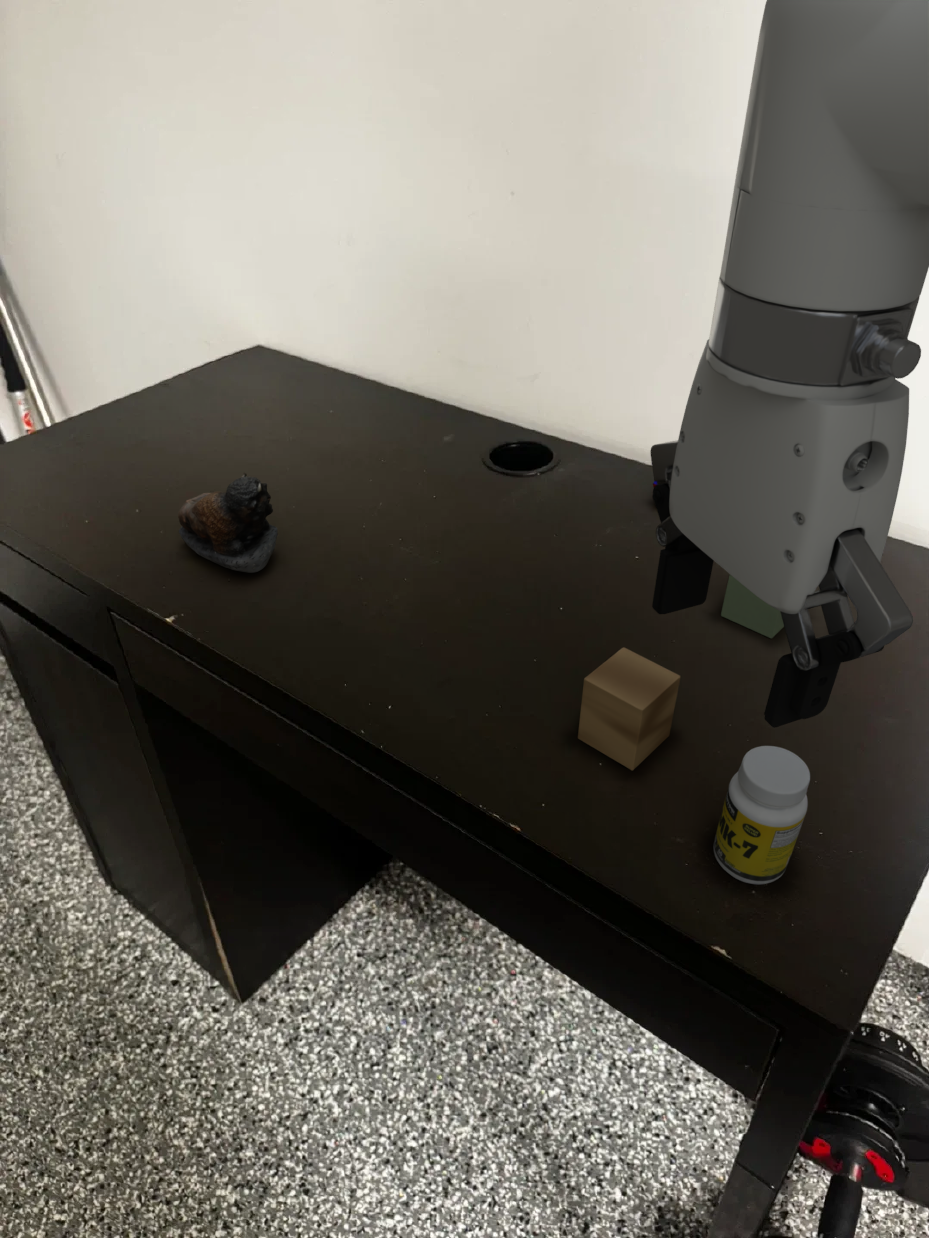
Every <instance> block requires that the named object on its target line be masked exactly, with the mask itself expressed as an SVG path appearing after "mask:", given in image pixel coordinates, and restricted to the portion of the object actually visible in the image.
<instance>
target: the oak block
mask: <svg viewBox="0 0 929 1238" xmlns="http://www.w3.org/2000/svg"><path fill="white" fill-rule="evenodd" d="M680 681H681V675H680V674H678V673H676V672H674V671H671V670H670V669H667V668H665V667H664V666H661V665H660V664H658V663H656V662H654V661H652V660H650V659H649V658H646V657H644V656H643V655H640V654H639V653H636V652H634V651H632V650H630V649H629V648H626V647H625V646H624V647H621V648H620V649H619V650H618V651H616V652H615V653H614V654H613V655H612V656H611V657H609V658H608V659H607V660H606V661H604V662H602V664H600V665H599V666H598V667H597V668H596V669H594V670H593V671H592V672H590V673H589V674H587V676H585V677H584V679H583V687H582V694H581V705H580V712H579V713H580V714H579V722H578V723H579V724H578V731H577V732H578V733H577V739H578V740H580V741H582V743H585V744H586V745H588V746H590V747H591V748H593V749H595V750H596V751H598V752H600V753H601V754H603V755H605V756H607V757H608V758H610V759H611V760H613V761H615V762H616V763H618V764H620V765H622V766H623V767H625V768H626V769H628V770H630V771H634V770H635V769H636V768H637V767H639V765H640V764H641V763H643V761H645V759H647V758H648V757H649V756H650V755H651V754H652V753H653V752H654V751H655V750H656V749H657V748H659V746H660V745H661V744H663V742H664V741H666V739H667V738H668V737H670V734H671V729H672V724H673V718H674V713H675V712H674V711H675V707H676V702H677V697H678V692H679V686H680Z"/></svg>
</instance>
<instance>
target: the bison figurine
mask: <svg viewBox="0 0 929 1238" xmlns="http://www.w3.org/2000/svg"><path fill="white" fill-rule="evenodd" d="M242 474H243V475H242V476H241V477H238V478H236V479H234V480H233V481H232V482H230V484H229V485H227V487H226V491H225V492H224V491H219V490H217V491H214V492H202V493H201V494H199V495H197V496H194V497H192V498H189V499H186V500H185V501H184V503H183V505H182V506H181V508H180V509H179V511H178V514H177V517H178V522H179V524H180V525H181V527H180V528H179V530H178V533H179V535H180V537H181V539H182V540H183V541H184V542H185V544H186V545H187V546H188V547H189V548H190V549H191V550H192V551H194V552H195V553H196V554H197V555H198V556H201V557H202V558H204V559H206V560H208V561H210V562H211V563H212V562H213V563H215V564H216V565H218V566H221V567H223V568H226V569H230V570H232V571H236V572H241V573H248V574H254V573H258V572H259V571H262V570H263V569H264V568H265V567H266V566H267V564H268V563H269V560H270V558H271V556H272V554H273V553H274V551H275V548H276V545H277V539H278V527H277V526H275V525H272V524H270V523H269V521H268V519H267V517H269V516H270V515H272V514H273V512H274V509H273V504H272V503H270V502H271V498H272V496H271V494H270V493H269V491H268V483H266V482H262V481H261V480H260V479H259V478H257V477H256V476H248V475H247V473H246V472H243V473H242Z"/></svg>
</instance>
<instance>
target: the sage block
mask: <svg viewBox="0 0 929 1238" xmlns="http://www.w3.org/2000/svg"><path fill="white" fill-rule="evenodd" d="M720 617H722V618H724V619H727V620H729V621H731V622H734V623H735V624H738V625H741V626H743V627H745V628H747V629H749V630H751V631H753V632H755V633H758V634H760V635H762V636H764V637H766V638H769V639H773V638H774V637H775V636H777V634H778V633H779V632H781V630H782V629H783V628H785V627H784V624H783V620H782V616H781V612H780V611H779V610H777V609H775V608H773V607H771V606H770V605H768V604H767V603H765V602H764V601H763V600H761V599H760V598H759V597H757V596H756V595H755V594H753V593H752V592H751V591H750V590H749V589H747V588H746V587H745V586H744V585H742V584H741V583H740V582H739V581H737V580H736V579H735V578H734V577H733V576H732V575H730V574H729V575H728V580H727V585H726V589H725V594H724V598H723V603H722V608H721V612H720Z"/></svg>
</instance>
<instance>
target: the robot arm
mask: <svg viewBox="0 0 929 1238" xmlns="http://www.w3.org/2000/svg"><path fill="white" fill-rule="evenodd" d="M750 82H751V83H750V88H749V94H748V100H747V107H746V111H745V119H744V125H743V130H742V137H741V143H740V149H739V155H738V161H737V167H736V174H735V180H734V186H733V193H732V198H731V204H730V210H729V218H728V225H727V231H726V238H725V243H724V249H723V255H722V261H721V267H720V274H719V278H718V282H717V288H716V295H715V301H714V307H713V311H712V318H711V323H710V324H711V326H710V330H709V331H710V332H709V337H708V339H707V340H706V342H705V346H704V348H703V351H702V353H701V356H700V359H699V360H698V361H699V362H698V365H697V367H696V371H695V374H694V377H693V380H692V384H691V387H690V391H689V394H688V398H687V402H686V405H685V409H684V413H683V417H682V421H681V426H680V430H679V434H678V438H677V440H672V441H665V442H661V443H656V444H653V445H651V448H650V461H651V466H652V467H651V468H652V474H653V475H652V476H653V482H657V485H656V486H655V487H653V489H652V500H653V503H654V505H655V508H656V511H657V515H658V518H659V521H660V523H659V524H658V525H657V526H656V528H655V538H656V541H657V543H658V544H659V546H661V547H663V549H660V552H659V559H658V565H657V572H656V578H655V583H654V584H655V585H654V591H653V597H652V604H651V607H652V609H653V610H654V611H655V612H656V613H657V614H658V615H668V614H672V613H675V612H678V611H682V610H686V609H690V608H692V607H693V608H694V607H697V606H700V605H703V604H705V602H706V601H707V596H708V591H709V587H710V580H711V576H712V572H713V566H714V563H716V564H717V565H718V566H720V567H721V568H722V569H723V570H724V571H725V572H727V573H728V574H729V575H732V576H733V577H734V578H735V579H736V580H737V581H739V582H740V583H741V584H742V585H744V586H745V587H746V588H747V589H749V590H750V591H751V592H752V593H753V594H755V595H756V596H757V597H759V598H760V599H761V600H763V601H764V602H765V603H767V604H768V605H770V606H771V607H773V608H775V609H777V610H779V611H780V612H781V616H782V620H783V624H784V627H783V628H784V632H785V635H786V639H787V642H788V646H789V650H790V652H789V653H786V654H784V655H781V657H780V658H779V659H778V661H777V664H776V667H775V670H774V671H775V672H774V675H773V679H772V683H771V687H770V690H769V694H768V697H767V701H766V705H765V709H764V712H763V715H764V720H765V722H767V724H768V725H770V727H772V728H778V727H782V726H785V725H788V724H790V723H794V722H796V721H799V720H807V719H811V718H813V717H816V716H818V715H819V714H821V713H822V712H823V711H824V710H825V709H826V707H827V705H828V703H829V700H830V697H831V694H832V691H833V688H834V685H835V682H836V679H837V676H838V673H839V670H840V667H841V664H843V663H846V662H847V663H848V662H851V661H854V660H857V659H860V658H863V657H866V656H871V655H873V654H877V653H879V652H881V651H883V650H884V648H885V646H887V645H889V644H890V643H892V642H893V641H895V640H896V639H897V638H898V637H900V636H901V635H903V634H904V633H905V632H906V631H908V630H909V629H911V628H912V626H913V624H914V617H913V614H912V612H911V609H910V608H909V607H908V605H907V604H906V602H905V600H904V598H903V597H902V595H901V594H900V592H899V591H898V589H897V587H896V586H895V584H894V583H893V581H892V579H891V577H889V575H888V573H887V571H886V570H885V568H884V567H883V565H882V563H881V561H882V558H883V555H884V551H885V548H886V544H887V540H888V536H889V532H890V528H891V524H892V520H893V517H894V511H895V507H896V504H897V500H898V499H897V498H898V494H899V489H900V484H901V478H902V473H903V467H904V461H905V455H906V454H905V453H906V448H907V439H908V429H909V417H910V388H909V387H908V386H907V385H906V384H904V383H902V382H901V381H899V380H898V379H903V378H906V377H907V376H909V375H910V374H911V373H912V372H913V371H914V370H915V369H916V367H917V366H918V364H919V363H920V360H921V356H922V349H921V346H920V345H919V344H918V343H917V342H914V341H912V340H910V339H909V336H910V335H909V334H910V331H911V329H912V324H913V321H914V319H915V315H916V311H917V308H918V305H919V301H920V297H921V294H922V292H923V288H924V285H925V281H926V278H927V274H928V272H929V0H766V1H765V4H764V10H763V14H762V19H761V24H760V29H759V34H758V38H757V46H756V51H755V59H754V64H753V70H752V77H751V81H750ZM817 589H819V590H817ZM849 600H850V601H851V603H852V605H853V607H854V609H855V611H856V620H855V619H854V615H853V612H852V607H851V604H850V601H849ZM818 607H821V610H822V614H823V618H824V622H825V625H826V629H827V633H828V634H824V635H822V636H819V637H816V635H815V630H814V625H813V623H812V618H811V614H810V611H809V610H810V609H814V608H818Z"/></svg>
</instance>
